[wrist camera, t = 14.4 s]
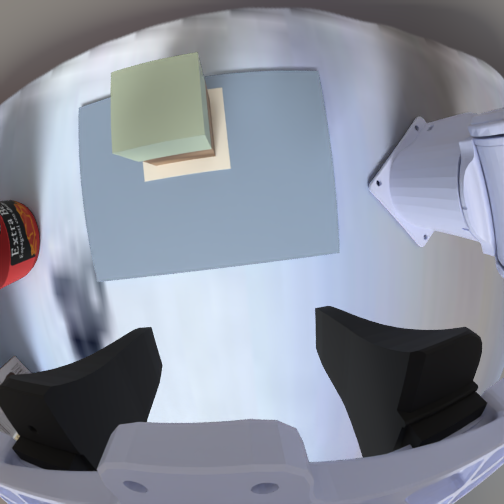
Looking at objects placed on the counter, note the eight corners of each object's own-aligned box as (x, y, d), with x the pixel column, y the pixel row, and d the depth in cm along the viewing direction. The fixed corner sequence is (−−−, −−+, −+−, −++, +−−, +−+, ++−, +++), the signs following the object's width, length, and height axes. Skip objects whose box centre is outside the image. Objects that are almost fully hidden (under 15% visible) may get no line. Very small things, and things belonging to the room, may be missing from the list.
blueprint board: (316, 72, 19) (318, 70, 18) (337, 251, 22) (339, 253, 21) (81, 109, 18) (78, 107, 17) (99, 280, 21) (96, 282, 20)
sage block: (204, 81, 14) (197, 52, 10) (211, 148, 15) (204, 134, 11) (135, 95, 14) (111, 72, 10) (138, 161, 15) (112, 153, 11)
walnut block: (209, 100, 18) (204, 79, 14) (215, 156, 19) (211, 146, 15) (151, 110, 18) (135, 93, 14) (155, 165, 19) (138, 159, 15)
